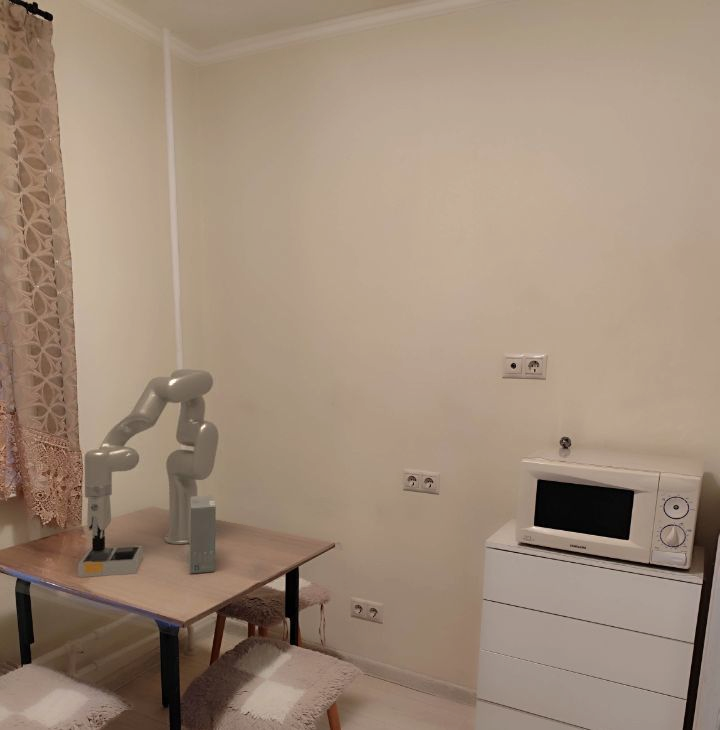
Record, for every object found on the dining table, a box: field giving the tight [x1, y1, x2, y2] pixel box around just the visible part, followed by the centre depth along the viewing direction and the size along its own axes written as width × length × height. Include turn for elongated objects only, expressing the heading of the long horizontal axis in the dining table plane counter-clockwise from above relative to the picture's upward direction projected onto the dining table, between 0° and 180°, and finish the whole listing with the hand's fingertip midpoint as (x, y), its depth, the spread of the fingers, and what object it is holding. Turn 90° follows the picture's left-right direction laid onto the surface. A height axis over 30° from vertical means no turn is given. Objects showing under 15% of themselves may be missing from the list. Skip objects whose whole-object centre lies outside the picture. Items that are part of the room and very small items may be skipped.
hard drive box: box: [188, 494, 217, 574], centre depth 180 cm, size 16×8×20 cm, turn 17°
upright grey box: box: [92, 547, 112, 561], centre depth 177 cm, size 5×4×4 cm
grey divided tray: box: [77, 545, 144, 578], centre depth 177 cm, size 16×13×5 cm
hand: (98, 549), depth 176 cm, fingers closed
